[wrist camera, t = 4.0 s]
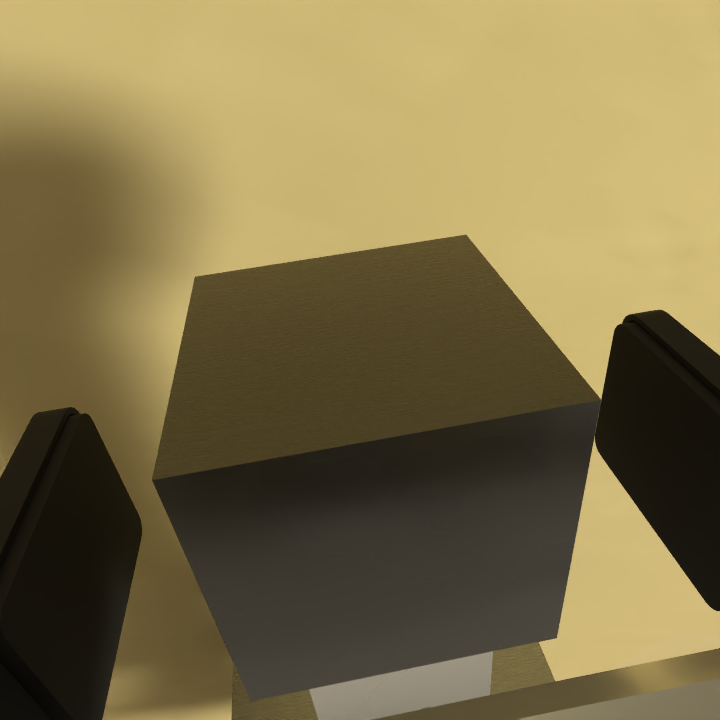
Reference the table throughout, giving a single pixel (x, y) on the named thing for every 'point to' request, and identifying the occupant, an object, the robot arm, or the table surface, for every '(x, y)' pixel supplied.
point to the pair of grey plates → (298, 715)
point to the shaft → (374, 473)
